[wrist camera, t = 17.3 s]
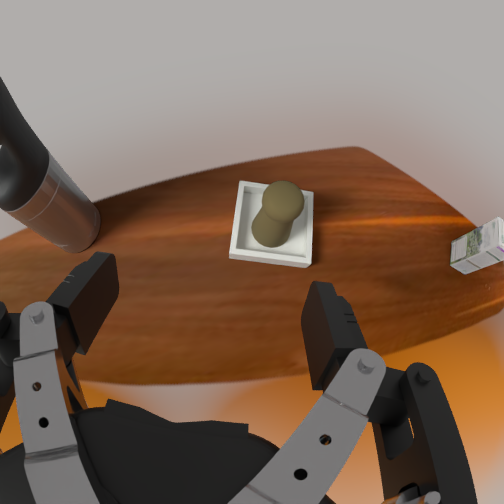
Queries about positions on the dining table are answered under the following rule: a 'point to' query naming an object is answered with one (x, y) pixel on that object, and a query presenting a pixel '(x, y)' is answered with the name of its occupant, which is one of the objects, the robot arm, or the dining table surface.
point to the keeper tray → (249, 249)
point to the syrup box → (479, 247)
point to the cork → (277, 213)
